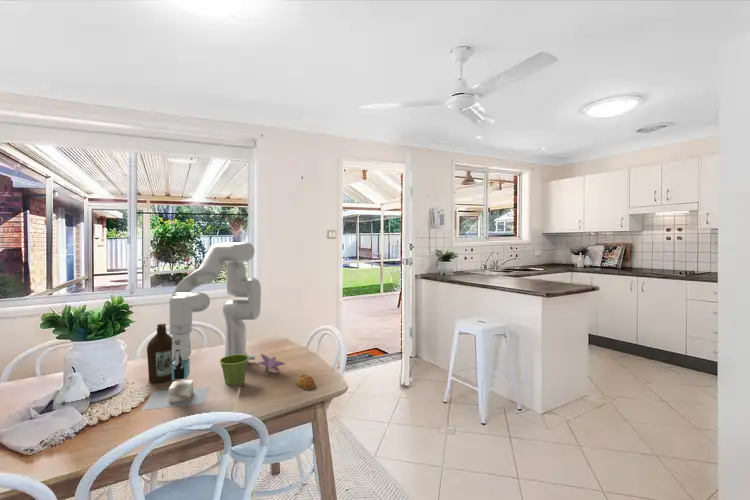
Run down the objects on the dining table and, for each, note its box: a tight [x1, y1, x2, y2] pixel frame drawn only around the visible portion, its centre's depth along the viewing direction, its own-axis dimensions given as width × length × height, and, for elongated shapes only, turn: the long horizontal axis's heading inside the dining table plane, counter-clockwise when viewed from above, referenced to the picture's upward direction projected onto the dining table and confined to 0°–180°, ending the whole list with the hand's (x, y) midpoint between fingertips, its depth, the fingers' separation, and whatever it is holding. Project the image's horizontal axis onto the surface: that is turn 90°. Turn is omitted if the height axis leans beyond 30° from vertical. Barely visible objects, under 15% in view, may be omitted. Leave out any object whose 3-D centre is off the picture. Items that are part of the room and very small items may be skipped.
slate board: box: [141, 386, 211, 411], centre depth 140 cm, size 20×16×2 cm
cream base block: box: [168, 379, 194, 402], centre depth 140 cm, size 7×7×5 cm
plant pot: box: [219, 354, 250, 387], centre depth 155 cm, size 12×12×11 cm
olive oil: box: [146, 323, 174, 385], centre depth 157 cm, size 11×11×25 cm
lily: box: [257, 353, 286, 378], centre depth 168 cm, size 12×12×10 cm
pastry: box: [295, 374, 316, 391], centre depth 156 cm, size 9×7×4 cm
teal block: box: [171, 358, 191, 381], centre depth 140 cm, size 5×5×6 cm
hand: (181, 375), depth 140 cm, fingers closed on teal block, 5 cm apart
